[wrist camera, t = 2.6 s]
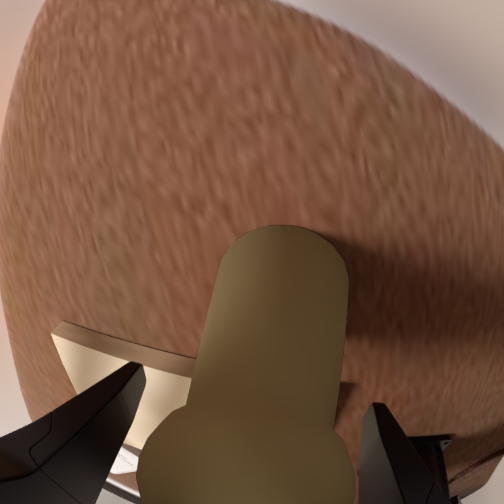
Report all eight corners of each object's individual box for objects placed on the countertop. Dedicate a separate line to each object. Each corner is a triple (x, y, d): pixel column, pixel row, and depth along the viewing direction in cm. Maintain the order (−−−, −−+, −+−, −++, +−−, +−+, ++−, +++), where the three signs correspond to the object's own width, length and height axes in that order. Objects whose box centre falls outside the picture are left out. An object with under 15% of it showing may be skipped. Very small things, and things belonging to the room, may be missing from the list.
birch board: (332, 381, 16) (332, 401, 15) (292, 468, 22) (291, 482, 21) (62, 320, 18) (50, 333, 17) (105, 421, 24) (98, 432, 23)
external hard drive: (70, 432, 30) (97, 415, 25) (120, 466, 32) (162, 458, 26) (65, 441, 29) (90, 427, 23) (116, 475, 30) (157, 469, 25)
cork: (352, 331, 15) (362, 559, 5) (235, 341, 16) (168, 542, 6) (342, 215, 12) (397, 517, 2) (202, 235, 14) (44, 461, 4)
